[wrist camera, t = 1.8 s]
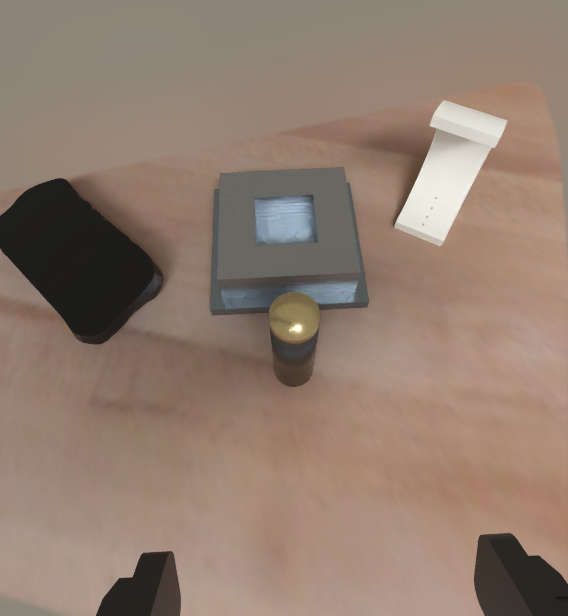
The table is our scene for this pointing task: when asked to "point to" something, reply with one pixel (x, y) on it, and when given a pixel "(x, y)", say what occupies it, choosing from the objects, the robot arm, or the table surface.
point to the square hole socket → (285, 241)
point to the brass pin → (294, 337)
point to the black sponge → (77, 260)
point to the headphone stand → (448, 170)
